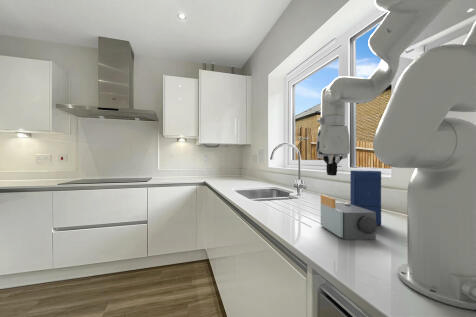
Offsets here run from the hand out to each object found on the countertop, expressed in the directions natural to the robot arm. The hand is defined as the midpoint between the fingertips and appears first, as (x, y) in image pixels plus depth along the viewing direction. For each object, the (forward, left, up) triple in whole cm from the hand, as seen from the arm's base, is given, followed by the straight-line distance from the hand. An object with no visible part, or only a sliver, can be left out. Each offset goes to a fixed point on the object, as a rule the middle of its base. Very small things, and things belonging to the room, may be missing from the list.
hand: (331, 175), depth 70 cm
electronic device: (+6, -17, -19) cm, 26 cm away
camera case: (-2, -4, -19) cm, 19 cm away
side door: (-3, +2, -18) cm, 19 cm away
